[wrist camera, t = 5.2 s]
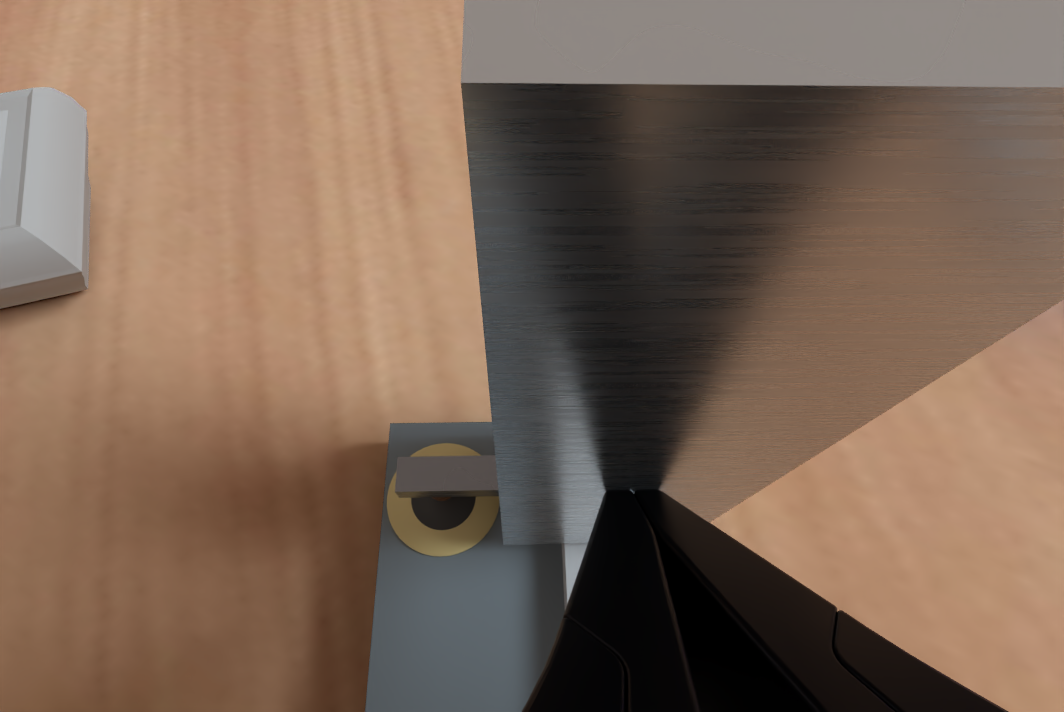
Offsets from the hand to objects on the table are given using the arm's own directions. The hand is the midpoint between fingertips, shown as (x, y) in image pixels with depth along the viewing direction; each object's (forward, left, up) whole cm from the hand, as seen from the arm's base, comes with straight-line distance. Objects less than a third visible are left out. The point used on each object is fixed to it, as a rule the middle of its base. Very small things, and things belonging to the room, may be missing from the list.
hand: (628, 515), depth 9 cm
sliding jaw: (0, +2, -5) cm, 6 cm away
